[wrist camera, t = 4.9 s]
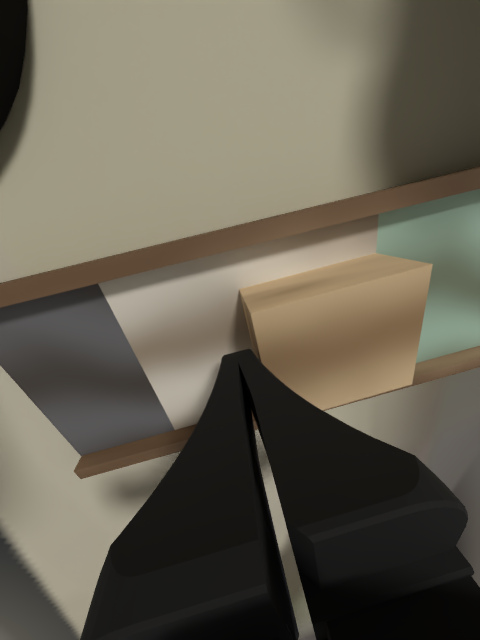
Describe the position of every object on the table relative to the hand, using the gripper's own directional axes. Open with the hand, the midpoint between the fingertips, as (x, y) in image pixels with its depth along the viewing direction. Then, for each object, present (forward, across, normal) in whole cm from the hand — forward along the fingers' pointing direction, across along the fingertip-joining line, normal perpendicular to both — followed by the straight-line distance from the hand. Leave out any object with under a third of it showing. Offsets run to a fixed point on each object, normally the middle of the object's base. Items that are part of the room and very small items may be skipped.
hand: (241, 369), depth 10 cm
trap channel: (+2, -6, 0) cm, 6 cm away
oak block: (+2, -4, 0) cm, 5 cm away
